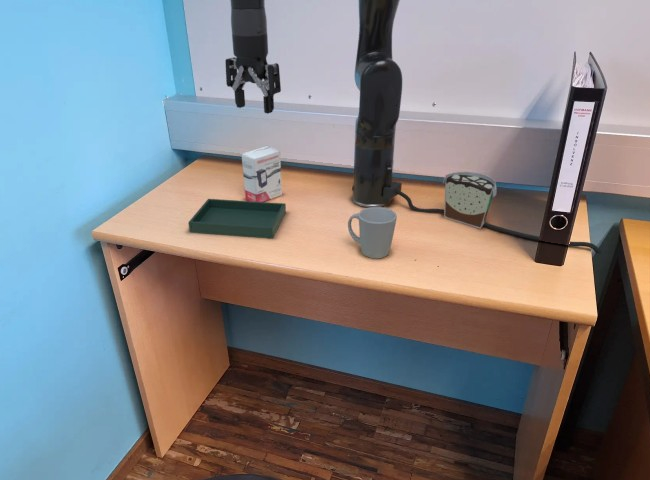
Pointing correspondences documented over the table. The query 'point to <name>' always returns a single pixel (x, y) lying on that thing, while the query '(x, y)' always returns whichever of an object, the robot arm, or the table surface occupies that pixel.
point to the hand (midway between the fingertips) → (254, 109)
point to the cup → (374, 231)
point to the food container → (468, 197)
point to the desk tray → (238, 218)
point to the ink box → (262, 174)
